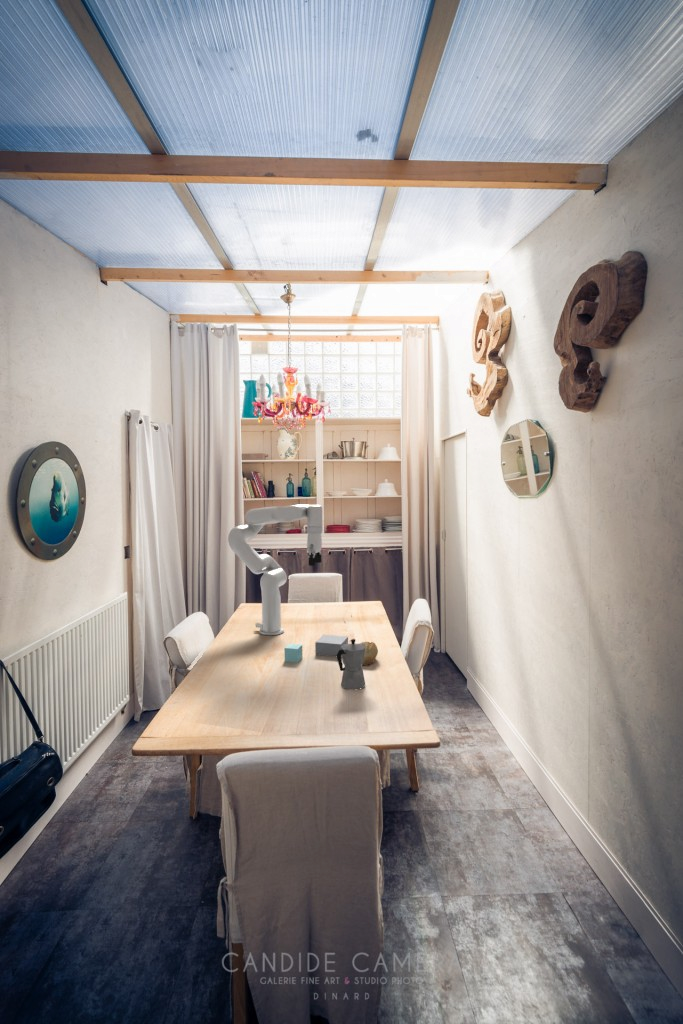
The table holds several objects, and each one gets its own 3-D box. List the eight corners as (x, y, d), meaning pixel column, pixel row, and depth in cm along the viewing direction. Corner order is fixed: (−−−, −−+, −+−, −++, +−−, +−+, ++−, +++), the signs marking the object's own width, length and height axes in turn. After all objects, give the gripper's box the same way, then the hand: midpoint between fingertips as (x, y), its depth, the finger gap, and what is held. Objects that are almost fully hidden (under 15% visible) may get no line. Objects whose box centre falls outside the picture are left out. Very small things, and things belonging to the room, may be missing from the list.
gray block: (315, 655, 239) (315, 642, 239) (323, 647, 251) (323, 634, 251) (341, 657, 236) (341, 644, 236) (348, 649, 248) (348, 636, 247)
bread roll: (377, 655, 239) (377, 637, 238) (377, 666, 224) (377, 648, 224) (356, 654, 240) (356, 637, 239) (354, 666, 225) (354, 647, 224)
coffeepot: (355, 677, 212) (355, 633, 210) (373, 683, 205) (373, 638, 204) (328, 688, 200) (328, 641, 199) (346, 695, 194) (346, 647, 193)
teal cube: (284, 661, 231) (284, 647, 230) (289, 656, 236) (289, 643, 236) (297, 662, 229) (297, 649, 229) (302, 658, 235) (302, 644, 234)
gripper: (313, 528, 273) (313, 561, 274) (301, 531, 257) (302, 566, 258) (327, 528, 271) (327, 561, 272) (316, 531, 255) (316, 567, 256)
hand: (315, 564), depth 265 cm, fingers open, 9 cm apart
